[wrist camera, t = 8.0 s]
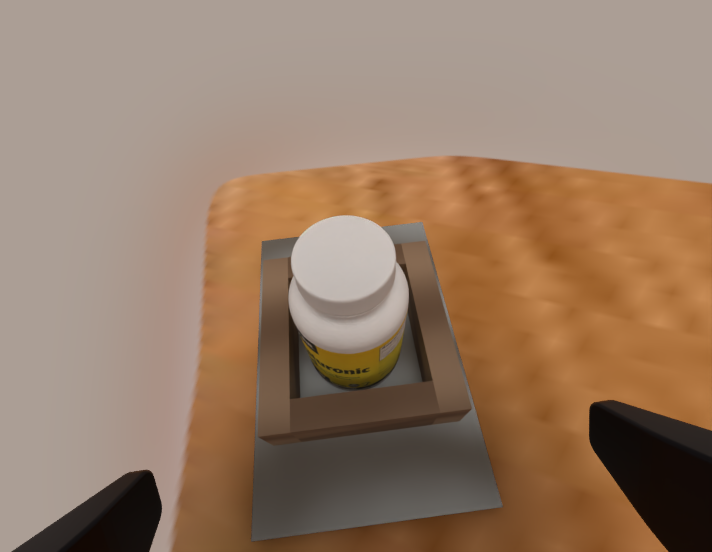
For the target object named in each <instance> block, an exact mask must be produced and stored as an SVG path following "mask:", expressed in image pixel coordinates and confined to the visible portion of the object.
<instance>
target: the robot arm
mask: <svg viewBox="0 0 712 552" xmlns="http://www.w3.org/2000/svg"><path fill="white" fill-rule="evenodd" d="M589 439H590V443H591V446H592V448H593V450H594V452H595V453H596V454H597V456H598V457H599V459H600V460H601V462H602V463H603V464H604V466H605V467H606V469H607V470H608V471H609V473H610V474H611V476H612V477H613V478H614V480H615V481H616V483H617V484H618V486H619V487H620V488H621V490H622V491H623V493H624V494H625V495H626V497H627V498H628V500H629V501H630V502H631V504H632V505H633V507H634V508H635V510H636V511H637V512H638V514H639V515H640V516H641V518H642V519H643V520H644V522H645V523H646V524H647V526H648V527H649V528H650V530H651V531H652V532H653V533H654V535H655V536H656V537H657V538H658V540H659V541H660V542H661V543H662V544H663V546H664V547H665V548H666V549H667V550H668V552H712V431H711V430H707V429H704V428H701V427H698V426H695V425H692V424H688V423H685V422H682V421H679V420H676V419H672V418H669V417H666V416H663V415H660V414H656V413H653V412H650V411H647V410H644V409H641V408H637V407H634V406H631V405H628V404H625V403H621V402H618V401H615V400H606V401H600V402H594V403H593V404H591V406H590V410H589ZM161 512H162V504H161V500H160V496H159V493H158V489H157V486H156V482H155V479H154V476H153V473H152V472H151V471H149V470H141V471H134V472H129V473H127V474H125V475H123V476H122V477H120V478H119V479H117V480H116V481H115V482H113V483H111V484H110V485H109V486H107V487H106V488H104V489H103V490H101V491H100V492H98V493H97V494H95V495H94V496H92V497H91V498H89V499H88V500H87V501H85V502H84V503H82V504H81V505H79V506H78V507H76V508H75V509H73V510H72V511H70V512H69V513H68V514H66V515H65V516H63V517H62V518H60V519H59V520H57V521H56V522H54V523H53V524H51V525H50V526H48V527H47V528H45V529H44V530H43V531H41V532H40V533H38V534H37V535H35V536H34V537H32V538H31V539H29V540H28V541H27V542H25V543H24V544H22V545H21V546H19V547H18V548H16V549H15V550H13V551H12V552H149V551H150V548H151V545H152V541H153V538H154V536H155V533H156V530H157V527H158V524H159V521H160V517H161Z"/></svg>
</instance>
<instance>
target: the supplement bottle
mask: <svg viewBox="0 0 712 552" xmlns="http://www.w3.org/2000/svg"><path fill="white" fill-rule="evenodd" d="M291 268H292V272H293V278H292V280H291V284H290V287H289V294H288V302H289V309H290V312H291V316H292V319H293V321H294V324H295V326H296V328H297V330H298V332H299V334H300V336H301V339H302V341H303V343H304V346H305V348H306V350H307V352H308V354H309V356H310V359H311V361H312V363H313V365H314V367H315V369H316V370H317V371H318V373H319V374H320V375H321V377H322V378H324V379H325V380H326V381H327V382H328V383H330V384H331V385H333V386H335V387H338V388H340V389H344V390H349V391H358V390H365V389H369V388H372V387H374V386H376V385H378V384H380V383H381V382H382V381H384V380H385V379H386V378H387V377H388V376H389V375H390V374H391V372H392V371H393V370H394V368H395V366H396V364H397V361H398V359H399V355H400V351H401V346H402V340H403V334H404V328H405V322H406V316H407V311H408V304H409V289H408V284H407V280H406V277H405V274H404V272H403V270H402V269H401V267H400V266H399V264H398V263H397V262H396V251H395V247H394V244H393V242H392V240H391V238H390V236H389V235H388V234H387V232H386V231H385V230H384V229H383V228H381V227H380V226H379V225H377V224H376V223H374V222H372V221H370V220H368V219H365V218H361V217H357V216H334V217H330V218H327V219H324V220H321V221H319V222H317V223H315V224H313V225H312V226H311V227H309V228H308V229H307V230H305V231H304V232H303V234H302V235H301V236H300V237H299V238H298V240H297V242H296V243H295V245H294V248H293V251H292V256H291Z"/></svg>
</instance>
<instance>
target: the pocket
mask: <svg viewBox="0 0 712 552" xmlns="http://www.w3.org/2000/svg"><path fill="white" fill-rule="evenodd" d="M381 228H383V229H384V230H385V231H386V232H387V234H388V235H389V236H390V238H391V240H392V242H393V244H394V247H395V251H396V262H397V263H398V264H399V266H400V267H401V269H402V270H403V272H404V274H405V277H406V280H407V284H408V289H409V304H408V311H407V316H406V322H405V328H404V334H403V340H402V346H401V351H400V355H399V359H398V361H397V364H396V366H395V368H394V370H393V371H392V372H391V374H390V375H389V376H388V377H387V378H386V379H385V380H384V381H382V382H381V383H380V384H378V385H376V386H374V387H372V388H369V389H365V390H358V391H349V390H344V389H340V388H338V387H335V386H333V385H331V384H330V383H328V382H327V381H326V380H325V379H324V378H322V377H321V375H320V374H319V373H318V371H317V370H316V369H315V367H314V365H313V363H312V361H311V359H310V356H309V354H308V352H307V350H306V348H305V346H304V343H303V341H302V339H301V336H300V334H299V332H298V330H297V328H296V326H295V324H294V321H293V319H292V316H291V312H290V309H289V302H288V294H289V287H290V284H291V280H292V278H293V272H292V268H291V256H292V251H293V248H294V245H295V243H296V242H297V240H298V238H299V237H294V238H285V239H277V240H269V241H262V254H261V282H260V310H259V338H258V366H257V395H256V423H255V451H254V479H253V507H252V535H251V542H252V541H259V540H267V539H274V538H281V537H289V536H296V535H303V534H310V533H318V532H325V531H332V530H339V529H347V528H354V527H361V526H369V525H376V524H383V523H390V522H398V521H405V520H412V519H420V518H427V517H434V516H441V515H449V514H456V513H463V512H470V511H478V510H485V509H492V508H500V507H503V505H502V502H501V498H500V495H499V491H498V488H497V484H496V481H495V477H494V474H493V470H492V467H491V463H490V460H489V456H488V452H487V449H486V445H485V442H484V438H483V435H482V431H481V428H480V424H479V421H478V417H477V414H476V410H475V407H474V403H473V400H472V396H471V392H470V389H469V385H468V382H467V378H466V375H465V371H464V368H463V364H462V361H461V357H460V354H459V350H458V347H457V343H456V340H455V336H454V332H453V329H452V325H451V322H450V318H449V315H448V311H447V308H446V304H445V301H444V297H443V294H442V290H441V287H440V283H439V280H438V276H437V272H436V269H435V265H434V262H433V258H432V255H431V251H430V248H429V244H428V241H427V237H426V234H425V230H424V227H423V223H422V222H419V223H410V224H402V225H394V226H385V227H381Z"/></svg>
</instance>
